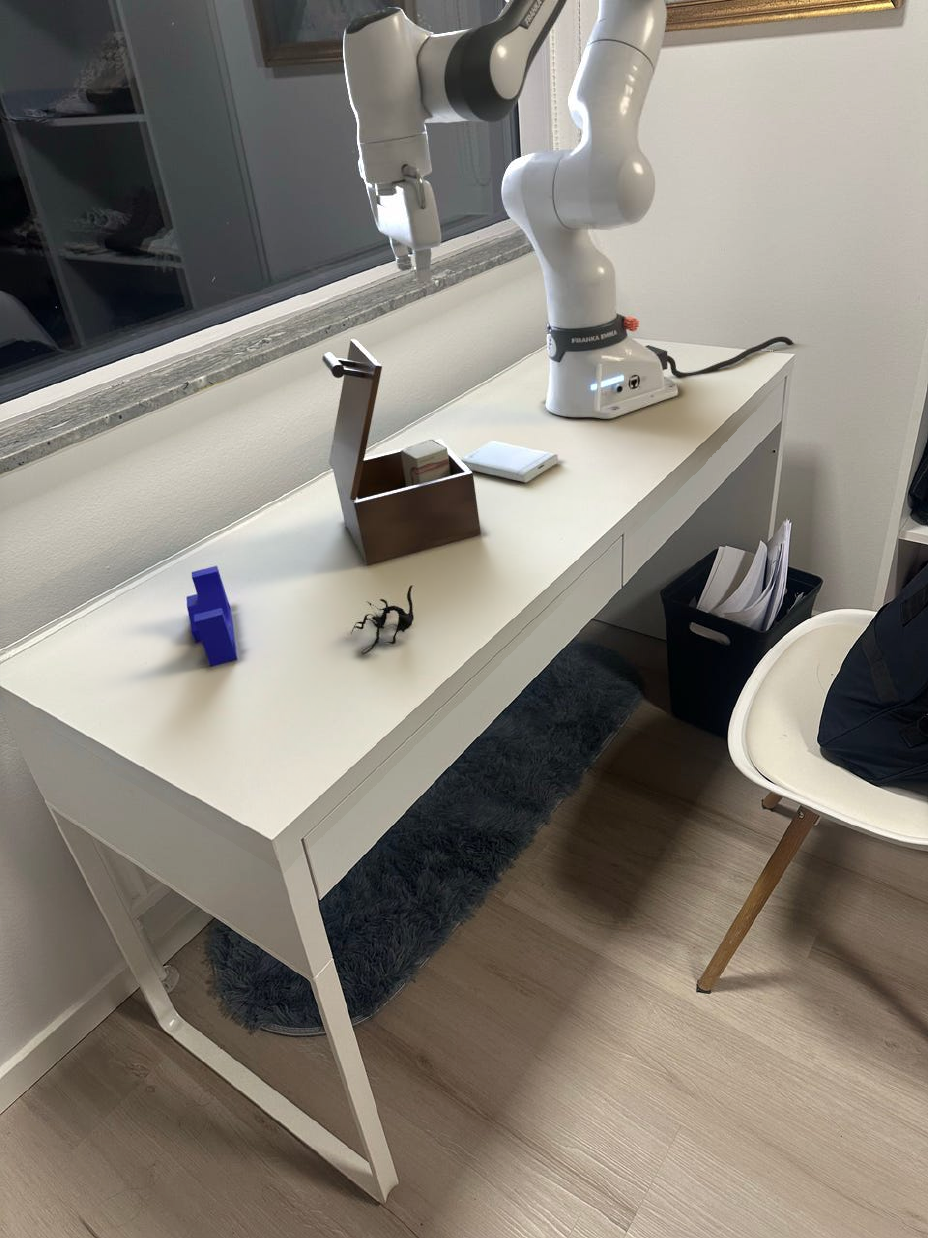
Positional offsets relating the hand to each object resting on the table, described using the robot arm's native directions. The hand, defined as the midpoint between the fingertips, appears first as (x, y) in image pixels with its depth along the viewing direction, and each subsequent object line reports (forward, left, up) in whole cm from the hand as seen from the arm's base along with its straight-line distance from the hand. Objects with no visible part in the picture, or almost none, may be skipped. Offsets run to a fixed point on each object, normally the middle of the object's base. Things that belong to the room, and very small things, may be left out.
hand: (414, 275), depth 121 cm
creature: (+20, +41, -29) cm, 54 cm away
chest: (+10, +17, -29) cm, 35 cm away
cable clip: (+38, +31, -29) cm, 57 cm away
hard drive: (-9, +5, -29) cm, 31 cm away
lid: (+14, +17, -12) cm, 25 cm away
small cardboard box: (+7, +17, -28) cm, 33 cm away
